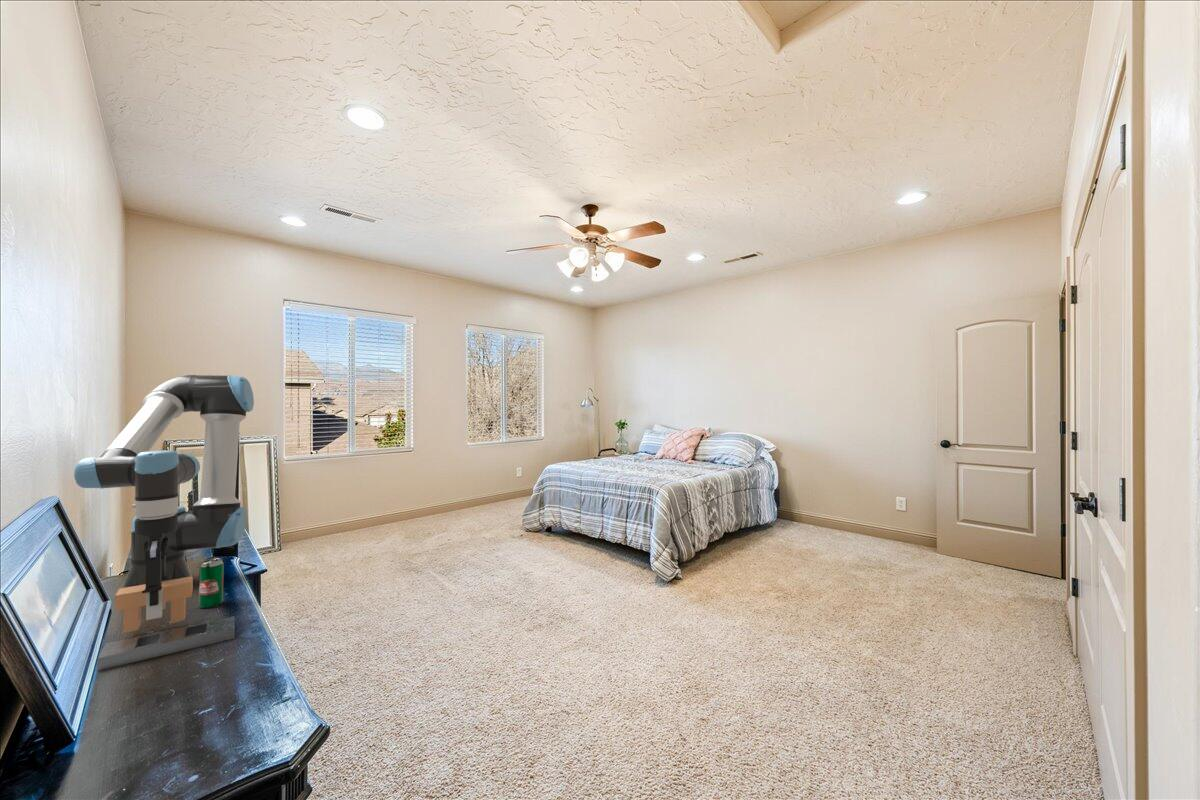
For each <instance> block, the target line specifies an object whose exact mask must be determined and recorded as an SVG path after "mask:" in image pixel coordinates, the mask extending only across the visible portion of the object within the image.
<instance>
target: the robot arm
mask: <svg viewBox="0 0 1200 800" xmlns="http://www.w3.org/2000/svg"><path fill="white" fill-rule="evenodd" d="M141 404H142V407H141V408H140V410H138V411H137V413H136V414H135V415H134V417H133V418H131V420H130V421H129V422H128V423H127V424H126V426H125V427H124V428H123V429H122V431H121V432H120V433H119V434H118V435H117V436H116V438H115V439H113V441H112V442H111V443H110V445H109V446H108V447H107V448H106V449H105V450H104V451H103V452H102V454H101V455H100V456H97V457H96V456H92V457H86V458H83V459H80V460H79V461H78V462H77V463H76V465H75V467H74V472H73V477H74V480H75V483H76V485H77V486H78V487H80V488H82V489H103V490H104V489H111V488H114V489H115V488H129V487H130V488H131V487H134V496H135V497H134V501H135V502H134V503H133V504H132V505H131V506H130V507H131V509H135V510H134V511H135V512H134V517H133V519H132V523H131V530H130V534H131V536H130V545H131V546H130V568H129V570H128V573H127V575H126V577H125V579H124V581H123V584H122V586H121V588H126V587H132V586H138V585H144V584H146V588H145V590H143V591H142V593H146V605H145V606H146V607H145V610H146V611H145V620H146V621H149V620H155V619H160V618H162V617H163V610H165V609H166V602H162V598H163V588H162V586H161V585H162V581H168V580H174V579H180V578H186V577H191V576H192V574H191V570H190V568H189V566H188V563H187V561H186V559H185V551H193V550H203V549H220V548H225V547H232V546H234V545H237V543H239V542H240V540H241V538H242V537H243V534H244V532H245V529H246V525H247V522H248V520H247V519H248V511H247V508H245V507H243V506H241V503H242V501H241V500H239V499H238V498H237V497H236V487H237V486H236V485H237V473H238V471H237V469H238V455H239V437H240V424H241V422H242V421H244V420H245V419H246V418H247V413H249V412H252V411H253V410H254V404H255V399H254V393H253V388H252V385H251V383H250V382H249V380H248V379H247V378H246V377H244V376H238V375H236V376H235V375H230V374H228V375H211V374H210V375H209V374H208V375H204V374H203V375H200V374H198V375H197V374H187V375H182V376H178V377H174V378H172V379H169V380H167V381H165V382H164V381H163V383H161V384H158V386H156V387H155V388H153V389H151V390H150V391H149V392H148V393H147V395H146V396H145V397H144V398H143V399H142V403H141ZM188 412H193V413H194V412H197V413H199V417H200V418H201V419H202V420H204V422H205V425H204V426H205V428H204V429H205V430H204V438H203V439H204V441H203V442H204V443H203V454H202V456H203V457H202V470H201V478H200V492H199V493H200V495H199V499H198V500H196V502H195V503H194V504H193V505H192V510H190V511H189V510H187V509H186V507H185V506H179V485H181V484H185V483H188V482H189V481H191V480H193V479H194V478H195V477H197V475H198V474H199V472H200V469H201V464H200V461H199V460H198V459H197V457H195V456H194V455H192V454H188V453H178V452H177V451H175V450H173V449H172V450H168V449H167V450H152V448H153V447H154V445H156V443H157V442H158V440H159V439H160V437H161V436H162V435H163V433H164V432H165V431H166V429H167V428H168V426H169V425H170V424H171V422H173V420H174V419H177V418H179V417H180V416H181V415H182V414H184V413H188Z"/></svg>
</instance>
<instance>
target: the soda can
mask: <svg viewBox="0 0 1200 800" xmlns="http://www.w3.org/2000/svg"><path fill="white" fill-rule="evenodd" d="M198 572H199V576H198V577H199V578H198V581H199V582H198V591H199V592H198V607H200V608H201V609H210V608H215V607H217V606H219V605H221V604H222V603H223V602H224V562H223V559H222V558H218V557H216V558H215V557H214V558H209V559H206V560H203V561H201V564H200V565H199V571H198Z"/></svg>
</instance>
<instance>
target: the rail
mask: <svg viewBox="0 0 1200 800" xmlns="http://www.w3.org/2000/svg"><path fill="white" fill-rule="evenodd" d="M235 631H236V617H235V615H233V616H228V617H223V618H218V619H214V620H213V619H212V620H209V621H203V622H199V623H195V624H190V625H186V626H185V625H184V626H180V627H175V628H171V629H167V630H162V631H161V630H160V631H156V632H152V633H148V634H142V635H138V636H133V637H128V638H125V639H124V638H123V639H118V640H115V641H110V642H106V643H105V644H104V646H103V648H102V650H101V651H100V653H99V655H98V657H97V668H96V669H97V672H99V671H102V670H107V669H111V668H115V667H119V666H123V665H128V664H132V663H136V662H140V661H141V662H142V661H144V660H149V659H153V658H157V657H162V656H165V655H171V654H174V653H179V652H183V651H187V650H192V649H197V648H200V647H204V646H209V645H212V644H217V643H221V642H225V640H226V641H230V640H233V639H235V638H236V637H235V635H236V633H235Z"/></svg>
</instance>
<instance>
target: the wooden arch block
mask: <svg viewBox="0 0 1200 800" xmlns="http://www.w3.org/2000/svg"><path fill="white" fill-rule="evenodd" d="M193 579H194V577H193V576H192V575H191V577H186V578H180V579H174V580H168V581H162V585H161V586H162V588H163V598H162V602H165V603H166V602H170V624H174V623H177V622H182V621H185V618H186V606H187V605H186V599H187V598H192V595H193V590H194V588H193V587H194V580H193ZM145 588H146V584H144V585H138V586H132V587H126V588H122V587H121V588H118V590H117V592H116V594H115V595H114V600H115V601H114V604H115V605H114V610H115V612H118V611H122V610H123V634H125V633H129V632H130V633H131V632H135V631H139V629H140V626H141V624H142V621H141V620H142V619H141V618H142V607H144V606H146V593H142V591H143V590H145Z"/></svg>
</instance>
